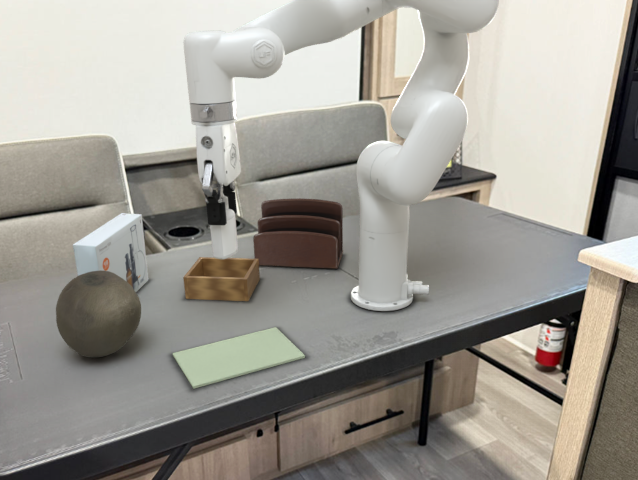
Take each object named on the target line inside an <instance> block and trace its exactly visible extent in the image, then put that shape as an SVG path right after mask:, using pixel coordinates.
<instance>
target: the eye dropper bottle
mask: <svg viewBox="0 0 638 480" xmlns="http://www.w3.org/2000/svg"><path fill="white" fill-rule="evenodd" d="M223 202H225V207H226V219H227V224H226V225H209V228H210V239H211V250H212V257H214V258H216V259H227V258H233V257H234V256H235V255H236V254H237V253H238V251H239V246H238V244H239V243H238V242H239V241H238V231H237V220H236V219H237V218H236V214H235V212H234V211H233V210H232V209H228V208H229V206H228V197H227V196H224V194H223Z"/></svg>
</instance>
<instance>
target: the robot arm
mask: <svg viewBox="0 0 638 480" xmlns="http://www.w3.org/2000/svg"><path fill="white" fill-rule="evenodd" d="M499 4H500V0H291V1H289V2H286V3H285V4H282V5H280V6H278V7H276V8H274V9H272V10H270V11H268V12H266V13H264V14H262V15H260V16H258V17H256V18H253V19H252V20H250V21H249V22H247V23H244V24H243V25H241V26H238V27H237V28H236V29H234V30H233V31H229V32H226V31H224V30H198V31H197V30H196V31H190V32H188V33H186V34H185V36H184V39H183V53H184V54H183V55H184V64H185V73H186V83H187V93H188V100H189V102H188V103H189V112H190V120H191V122H190V123H191V124H192V125H193V126H195V147H196V149H195V150H196V164H197V173H198V180H199V183H200V185H201V190H202V192H203V194H204V201H205V205H206V215H207V224H208V225H209V226H210V225H226V224H227V219H226V207H225V202H223V194H224V196H227V197H228V206H229V208H228V209H232V210H233V211H234V212H235V215H236V214H237V211H238V209H237V208H238V207H237V197H236V184H235V180H236V179H237V178H238V177H239V176H240V175H241V173H242V165H241V163H242V162H241V157H240V147H239V139H238V132H237V126H236V122H238V112H237V101H236V85H235V83H236V82H235V78H244V79H245V78H246V79H257V80H259V79H260V80H261V79H266V78H269V77H272V76H273V75H275V74H276V73H277V72H278V71H279V70H280V69H281V67H282V66H283V63H284V61H285V56H286V55H289V54H290V53H293V52H295V51H299V50H300V49H305V48H308V47H311V46H316V45H322V44H327V43H332V42H334V41H337V40H341V39H342V38H345V37H346V36H348V35H350V34H353V33H354V32H356V31H358V30H359V29H361V28H363V27H365V26H367V25H370V23H372V22H374V21H376V20H379V19H381V18H382V17H385V16H386V15H389V14H390V13H392V12H394V11H397V10H398V9H409V8H410V9H411V8H412V9H414V10H417V16H418V19H419V23H420V26H421V30H422V35H423V49H422V53H421V56H420V58H419V60H418V63H417V64H416V67H415V68H414V71H413V72H412V74H411V76H410V78H409V79H408V80H407V83H406V84H405V87H404V88H403V90H402V91H401V94H400V96H399V97H398V99H397V101H396V103H395V104H394V106H393V108H392V111H391V113H390V125H391V128H392V130H393V132H395V134H396V135H397V136H398V137H400V138H402V139H404V142H403V144H402V145H401V144H399V143H396V142H393V141H389V140H378V141H375V142H372V143H370V144H368V145H367V146H366V147H365V148H364V149H363V150H362V152H361V153H360V154H359V157H358V159H357V162H356V167H355V176H356V186H357V193H358V203H359V204H358V205H359V226H358V228H359V229H358V231H359V233H358V235H359V236H358V238H359V239H358V284H357V285H356V286H355V287H353V288H352V289H351V291H350V300H351V301H352V303H354V305H356V306H358V307H360V308H362V309H365V310H369V311H374V312H393V311H398V310H401V309H402V310H403V309H404V308H406V307H408V306H409V305H411V304H412V302H413V300H414V295H415V294H416V295H427V296H428V295H429V294H430V285H429V284H423V281H422V280H415V281H414V280H413V281H412V280H411V279H408V278H409V277H408V275H409V274H408V273H407V271H408V269H407V268H408V266H407V265H408V250H409V248H408V247H409V231H410V230H409V229H410V206H414V205H418V204H419V203H421V202H422V201H424V200H425V199H426V198H427V197H428V196H429V195H430V194H431V192H432V191H433V190H434V189H435V187H436V185H437V184H438V182H439V181H440V179H441V177H442V175H443V174H444V172H445V171H446V169H447V167H448V165H449V164H450V162H451V160H452V159H453V157H454V155H455V154H456V152H457V151H458V149H459V147H460V145H461V143H462V142H463V140H464V138H465V136H466V132H467V128H468V124H469V123H468V122H469V114H468V109H467V106H466V104H465V102H464V101H463V100H462V99H461V98H460V97H459V96H458V95H456V93H457V91H458V89H459V88H460V85H461V84H462V82H463V79H464V78H465V75H466V74H467V70H468V68H469V63H470V44H469V43H470V42H469V36H468V34H473V33H477V32H480V31H482V30H483V29H485V28H487V27H488V26H489V25H490V24H491V23H492V21H493V20H494V19H495V17H496V15H497V13H498V10H499ZM215 181H216V182H217V183H213V182H215ZM216 189H217V190H216Z"/></svg>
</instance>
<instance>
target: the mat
mask: <svg viewBox="0 0 638 480" xmlns="http://www.w3.org/2000/svg"><path fill="white" fill-rule="evenodd" d="M172 357H173V358H174V360H175V362H176V363H177V365H178V366H179V368H180V369H181V371H182V373H183V374H184V377H186V379H187V381H188V383H189V384H190V386H191V387H192V389H194V390H195V389H198V388H201V387H205V386H209V385H213V384H216V383H221V382H224V381H227V380H230V379H234V378H237V377H241V376H244V375H248V374H252V373H256V372H260V371H263V370H266V369H270V368H273V367H274V368H275V367H277V366H280V365H285V364H288V363H291V362H295V361H299V360H302V359H305V358H306V355H305V354H304V353H303V352H302V351H301V350H300V348H299V347H297V346H296V345H295V344H294V343H293V342H292V341H291V340H290V339H289V338H288V337H287V336H286V335H285V334H284V333H282V331H280V329H279V328H277V327H276V326H275V327H270V328H266V329H263V330H258V331H255V332H250V333H247V334H243V335H239V336H235V337H231V338H227V339H222V340H219V341H214V342H211V343H206V344H203V345H200V346H196V347H191V348H187V349H183V350H179V351H175V352H172Z"/></svg>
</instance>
